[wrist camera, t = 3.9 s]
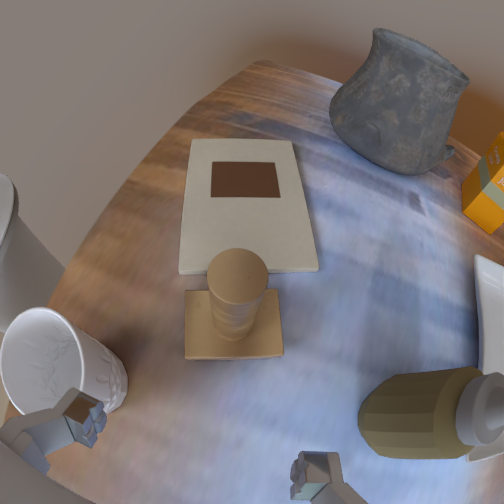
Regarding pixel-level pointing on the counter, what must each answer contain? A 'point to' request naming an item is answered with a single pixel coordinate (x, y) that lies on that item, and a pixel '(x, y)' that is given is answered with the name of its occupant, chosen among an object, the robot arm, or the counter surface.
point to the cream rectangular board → (245, 206)
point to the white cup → (57, 363)
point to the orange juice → (486, 189)
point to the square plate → (489, 336)
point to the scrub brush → (233, 311)
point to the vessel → (399, 105)
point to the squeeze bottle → (433, 413)
